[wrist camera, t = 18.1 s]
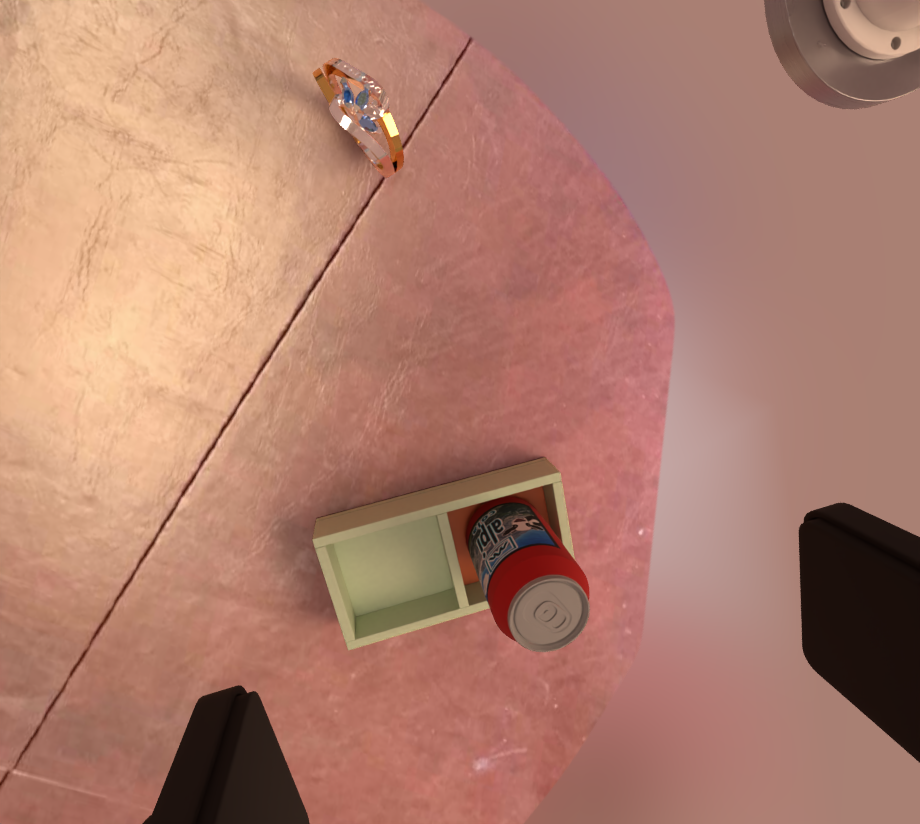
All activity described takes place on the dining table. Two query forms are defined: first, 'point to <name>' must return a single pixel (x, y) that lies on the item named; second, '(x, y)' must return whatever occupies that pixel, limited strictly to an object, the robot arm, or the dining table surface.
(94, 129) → the dining table surface
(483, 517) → the beverage can
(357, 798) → the dining table surface
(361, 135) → the ring
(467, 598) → the grid
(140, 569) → the dining table surface
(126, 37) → the dining table surface
